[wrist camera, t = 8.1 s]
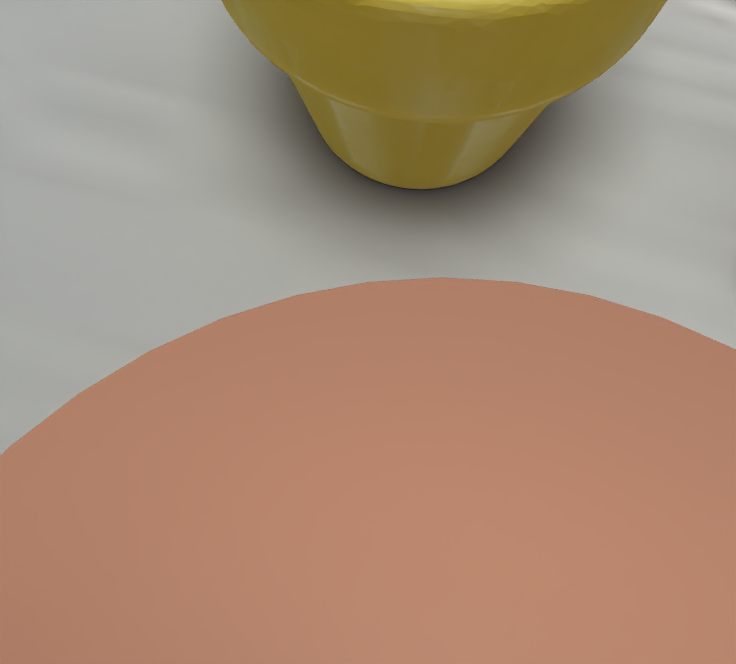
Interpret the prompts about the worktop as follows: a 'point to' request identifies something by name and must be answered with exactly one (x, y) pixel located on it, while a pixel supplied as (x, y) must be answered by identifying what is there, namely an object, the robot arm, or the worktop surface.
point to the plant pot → (436, 72)
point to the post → (385, 489)
